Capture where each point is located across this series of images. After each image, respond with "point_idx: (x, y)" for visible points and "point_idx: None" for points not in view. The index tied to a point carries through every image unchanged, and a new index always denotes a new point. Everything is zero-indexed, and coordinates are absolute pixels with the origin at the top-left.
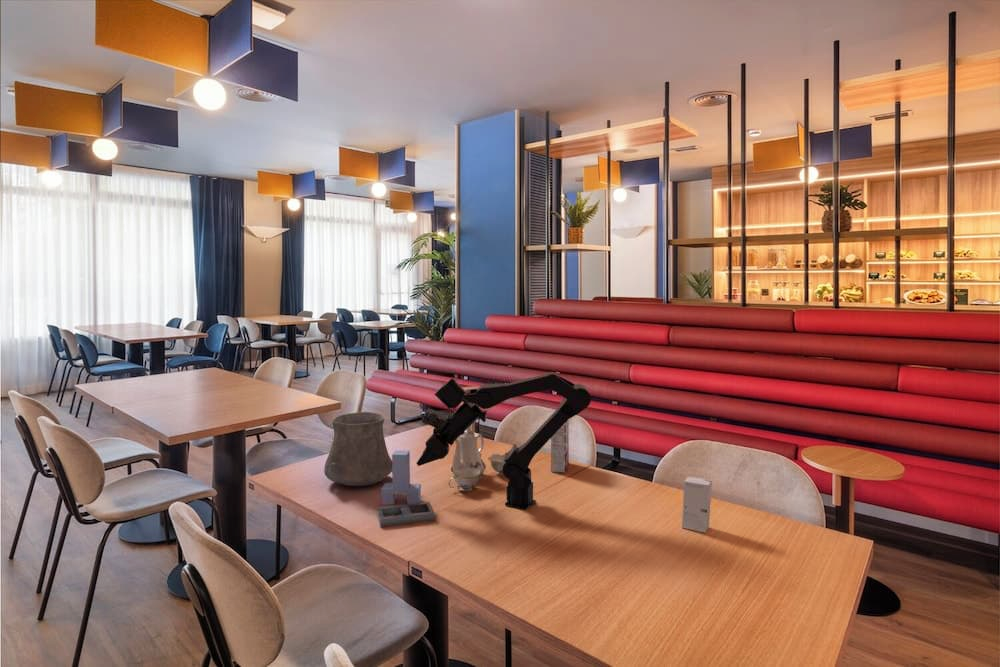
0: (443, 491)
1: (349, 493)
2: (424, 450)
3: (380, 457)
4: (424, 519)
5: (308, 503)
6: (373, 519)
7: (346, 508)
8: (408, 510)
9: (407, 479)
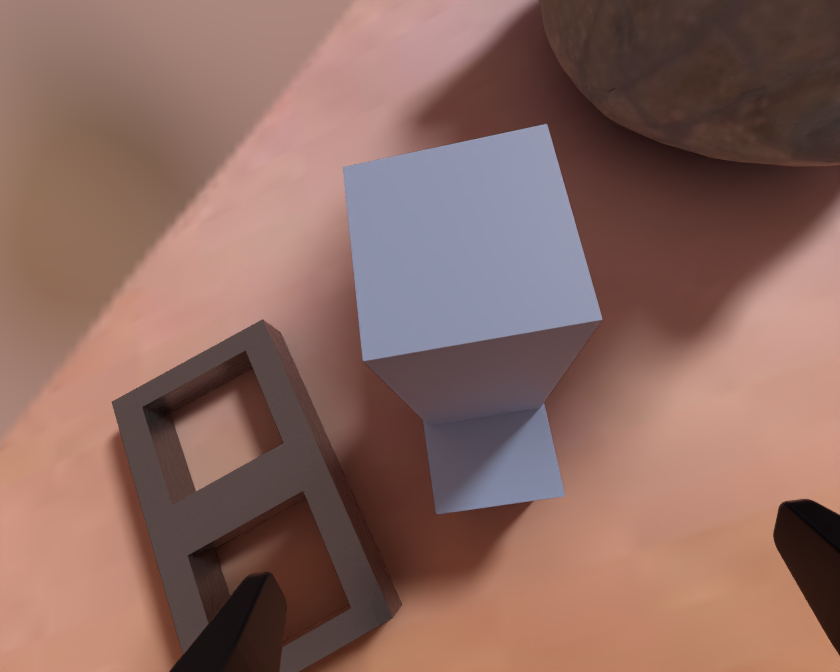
0: (750, 619)
1: (524, 89)
2: (827, 547)
3: (770, 13)
4: None
5: (371, 9)
6: (229, 337)
7: (341, 166)
8: (235, 517)
9: (439, 414)
